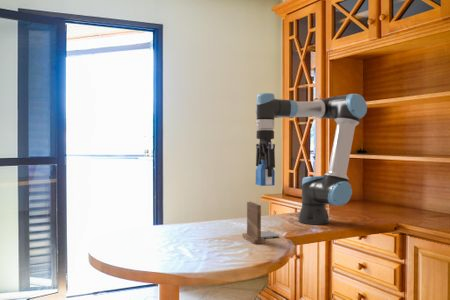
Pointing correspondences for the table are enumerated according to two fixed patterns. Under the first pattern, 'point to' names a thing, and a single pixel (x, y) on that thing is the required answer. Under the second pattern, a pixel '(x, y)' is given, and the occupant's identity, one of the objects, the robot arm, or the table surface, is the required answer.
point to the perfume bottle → (263, 174)
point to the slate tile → (268, 234)
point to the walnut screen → (253, 224)
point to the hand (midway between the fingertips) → (265, 183)
